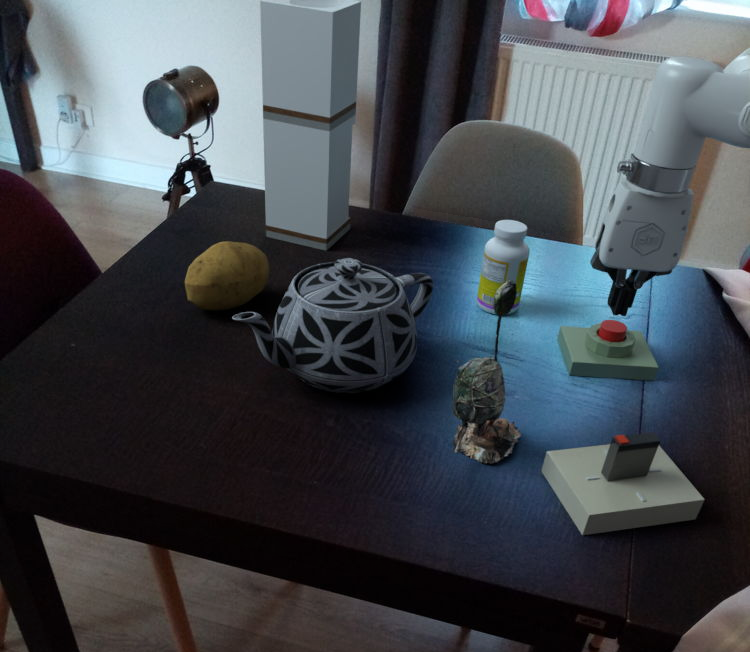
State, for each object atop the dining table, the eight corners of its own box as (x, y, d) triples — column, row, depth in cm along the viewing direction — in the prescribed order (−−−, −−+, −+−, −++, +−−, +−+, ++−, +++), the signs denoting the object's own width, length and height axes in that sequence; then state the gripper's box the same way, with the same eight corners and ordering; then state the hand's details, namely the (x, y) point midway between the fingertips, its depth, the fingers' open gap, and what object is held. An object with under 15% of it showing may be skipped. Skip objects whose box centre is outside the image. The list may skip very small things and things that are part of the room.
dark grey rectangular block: (639, 467, 89) (654, 430, 85) (647, 476, 88) (661, 438, 84) (600, 472, 87) (613, 434, 84) (607, 481, 86) (620, 443, 83)
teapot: (201, 368, 103) (191, 260, 93) (383, 311, 118) (391, 213, 108) (278, 442, 93) (276, 329, 83) (468, 369, 108) (485, 266, 98)
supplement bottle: (510, 295, 125) (526, 216, 117) (523, 316, 120) (541, 235, 112) (470, 296, 124) (483, 216, 115) (482, 317, 119) (496, 235, 111)
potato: (166, 240, 110) (198, 259, 105) (247, 227, 117) (282, 244, 112) (172, 305, 116) (204, 326, 110) (250, 288, 123) (283, 307, 117)
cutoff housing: (636, 344, 116) (644, 319, 114) (654, 380, 109) (663, 356, 106) (557, 338, 116) (563, 314, 113) (569, 375, 108) (575, 350, 106)
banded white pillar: (350, 228, 141) (361, 1, 117) (326, 250, 133) (332, 12, 110) (292, 215, 143) (292, -9, 120) (266, 236, 136) (260, 0, 112)
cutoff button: (620, 331, 111) (623, 320, 110) (626, 344, 108) (629, 333, 107) (595, 329, 111) (598, 318, 110) (600, 342, 108) (604, 331, 107)
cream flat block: (646, 458, 95) (654, 437, 93) (695, 519, 87) (705, 498, 85) (541, 471, 92) (546, 450, 90) (582, 535, 84) (589, 514, 82)
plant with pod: (422, 441, 95) (443, 289, 81) (491, 413, 100) (521, 266, 87) (467, 478, 90) (496, 322, 77) (536, 447, 95) (575, 296, 82)
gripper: (605, 180, 92) (568, 320, 104) (729, 190, 93) (678, 328, 105) (592, 159, 97) (558, 294, 110) (710, 168, 98) (663, 302, 110)
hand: (617, 310), depth 107 cm, fingers closed
